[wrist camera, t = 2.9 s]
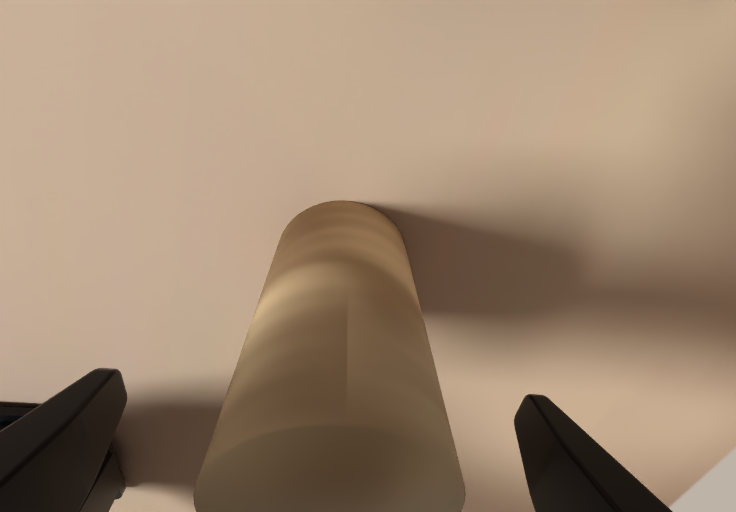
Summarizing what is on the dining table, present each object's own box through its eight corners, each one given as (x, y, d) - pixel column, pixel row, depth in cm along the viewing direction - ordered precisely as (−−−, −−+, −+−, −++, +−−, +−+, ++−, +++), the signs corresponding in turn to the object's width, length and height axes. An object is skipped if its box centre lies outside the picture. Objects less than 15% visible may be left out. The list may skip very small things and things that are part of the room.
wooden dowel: (276, 305, 14) (205, 564, 7) (278, 193, 12) (177, 415, 5) (394, 315, 15) (432, 568, 8) (417, 208, 12) (500, 432, 5)
